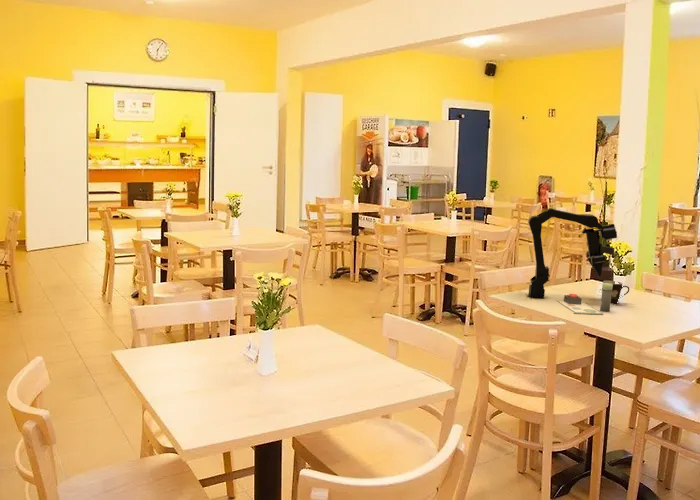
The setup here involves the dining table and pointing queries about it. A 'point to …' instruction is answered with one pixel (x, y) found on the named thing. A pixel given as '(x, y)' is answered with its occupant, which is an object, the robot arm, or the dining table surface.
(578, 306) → the colouring board
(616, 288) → the coffee mug
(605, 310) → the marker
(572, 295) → the button
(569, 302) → the button housing
